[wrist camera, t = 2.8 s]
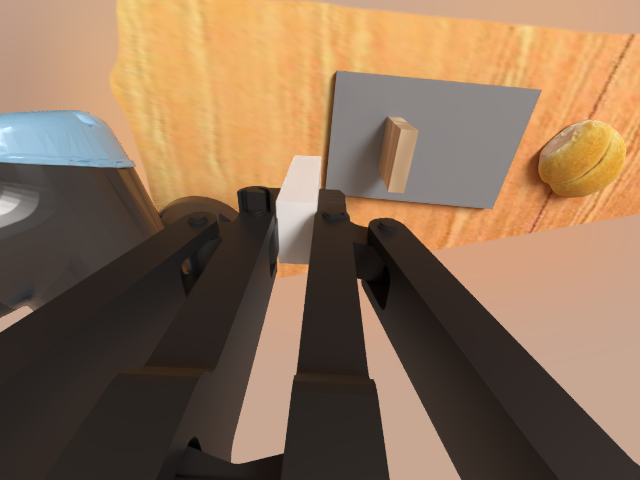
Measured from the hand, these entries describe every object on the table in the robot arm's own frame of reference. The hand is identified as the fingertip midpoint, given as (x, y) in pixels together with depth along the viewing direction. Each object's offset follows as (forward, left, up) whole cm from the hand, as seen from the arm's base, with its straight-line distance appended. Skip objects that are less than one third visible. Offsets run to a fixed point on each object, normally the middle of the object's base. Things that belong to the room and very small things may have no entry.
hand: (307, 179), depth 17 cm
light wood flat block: (+8, -2, -20) cm, 22 cm away
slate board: (+12, -2, -21) cm, 25 cm away
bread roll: (+31, -2, -22) cm, 38 cm away
